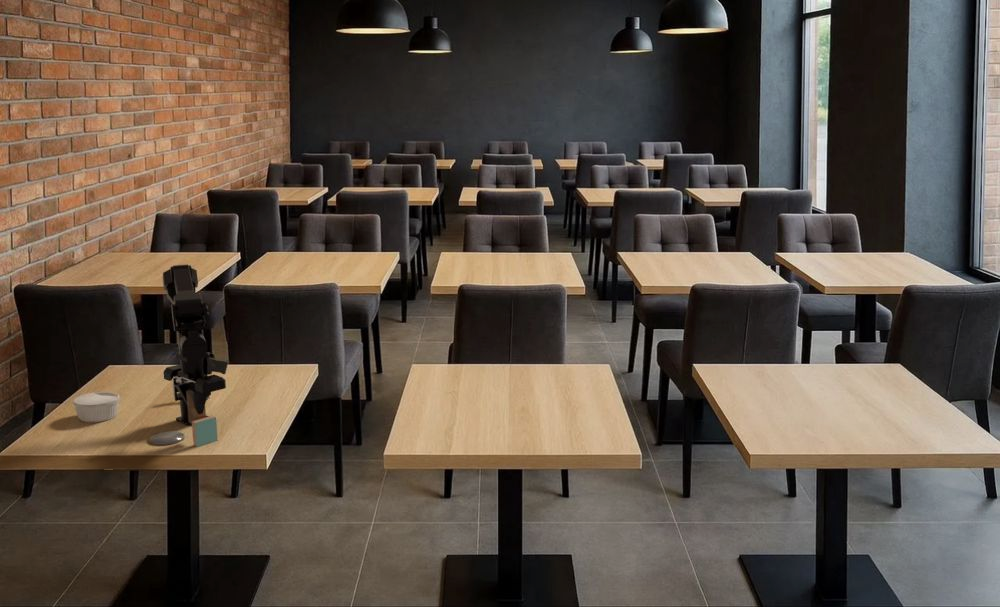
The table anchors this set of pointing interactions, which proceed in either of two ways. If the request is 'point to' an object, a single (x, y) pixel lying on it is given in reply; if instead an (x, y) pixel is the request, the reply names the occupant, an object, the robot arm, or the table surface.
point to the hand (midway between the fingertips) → (196, 412)
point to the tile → (204, 431)
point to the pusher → (193, 410)
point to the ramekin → (97, 406)
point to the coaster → (166, 438)
